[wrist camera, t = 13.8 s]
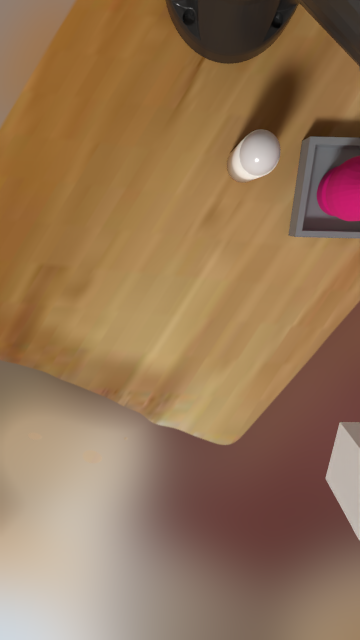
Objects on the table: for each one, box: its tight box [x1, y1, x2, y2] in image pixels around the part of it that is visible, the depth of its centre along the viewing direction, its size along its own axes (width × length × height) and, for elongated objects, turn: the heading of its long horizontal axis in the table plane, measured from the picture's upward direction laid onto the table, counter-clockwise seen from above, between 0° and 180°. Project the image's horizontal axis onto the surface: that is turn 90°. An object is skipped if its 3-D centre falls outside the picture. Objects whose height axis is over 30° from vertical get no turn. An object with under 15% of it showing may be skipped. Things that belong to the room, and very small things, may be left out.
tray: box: [289, 136, 360, 238], centre depth 39 cm, size 12×12×2 cm
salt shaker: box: [227, 129, 280, 183], centre depth 34 cm, size 4×4×10 cm
